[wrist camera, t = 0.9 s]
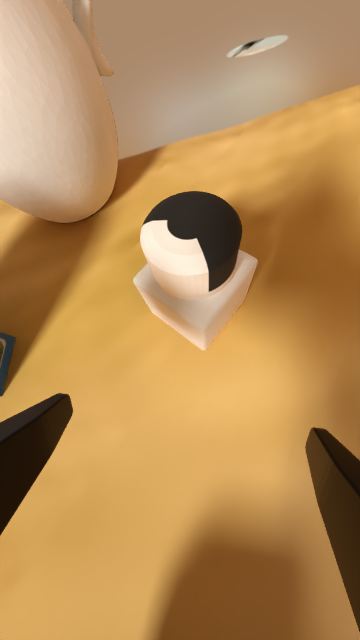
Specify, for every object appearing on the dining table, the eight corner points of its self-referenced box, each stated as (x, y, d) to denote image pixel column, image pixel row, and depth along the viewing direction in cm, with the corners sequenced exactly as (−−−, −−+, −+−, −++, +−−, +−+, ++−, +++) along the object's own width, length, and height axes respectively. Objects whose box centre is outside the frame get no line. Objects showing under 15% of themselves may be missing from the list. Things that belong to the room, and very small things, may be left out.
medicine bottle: (191, 265, 26) (179, 160, 14) (246, 298, 24) (280, 205, 12) (151, 312, 24) (102, 236, 13) (204, 352, 22) (201, 302, 11)
